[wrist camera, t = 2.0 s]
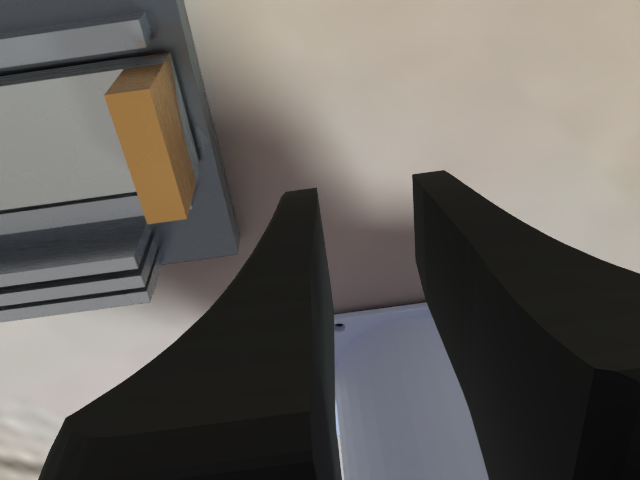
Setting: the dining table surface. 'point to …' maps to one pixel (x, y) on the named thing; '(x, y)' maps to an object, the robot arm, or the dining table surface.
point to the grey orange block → (98, 136)
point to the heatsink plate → (113, 210)
